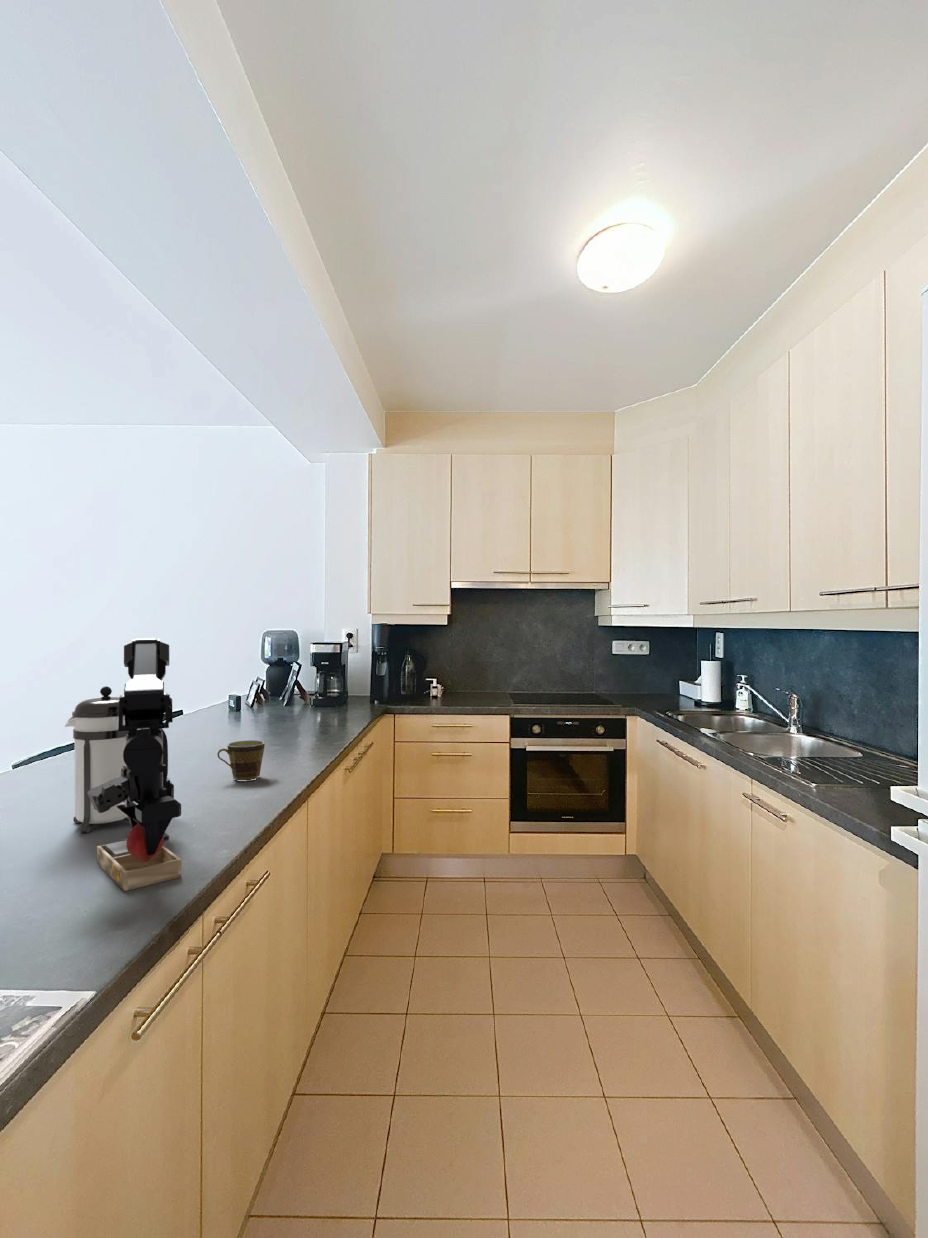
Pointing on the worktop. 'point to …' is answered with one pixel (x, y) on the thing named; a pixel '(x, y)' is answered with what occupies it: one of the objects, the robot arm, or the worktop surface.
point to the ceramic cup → (245, 758)
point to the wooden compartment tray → (137, 866)
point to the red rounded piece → (139, 844)
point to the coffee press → (99, 755)
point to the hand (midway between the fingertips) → (145, 850)
